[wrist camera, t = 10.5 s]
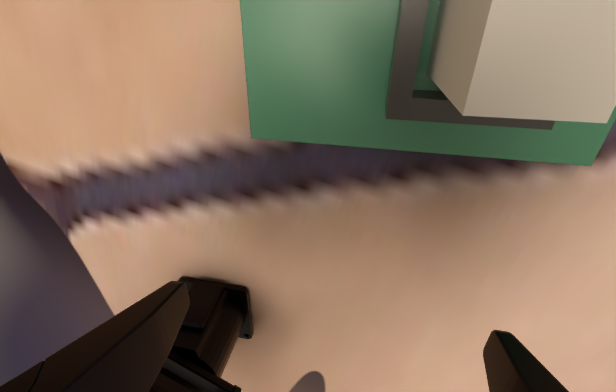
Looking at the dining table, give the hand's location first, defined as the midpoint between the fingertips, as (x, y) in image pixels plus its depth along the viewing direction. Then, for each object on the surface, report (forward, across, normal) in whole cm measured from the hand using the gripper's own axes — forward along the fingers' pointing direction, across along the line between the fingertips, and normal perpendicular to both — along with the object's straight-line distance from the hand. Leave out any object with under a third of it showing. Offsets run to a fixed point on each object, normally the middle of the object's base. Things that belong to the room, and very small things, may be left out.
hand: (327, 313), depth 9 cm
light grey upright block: (+10, -5, -8) cm, 14 cm away
